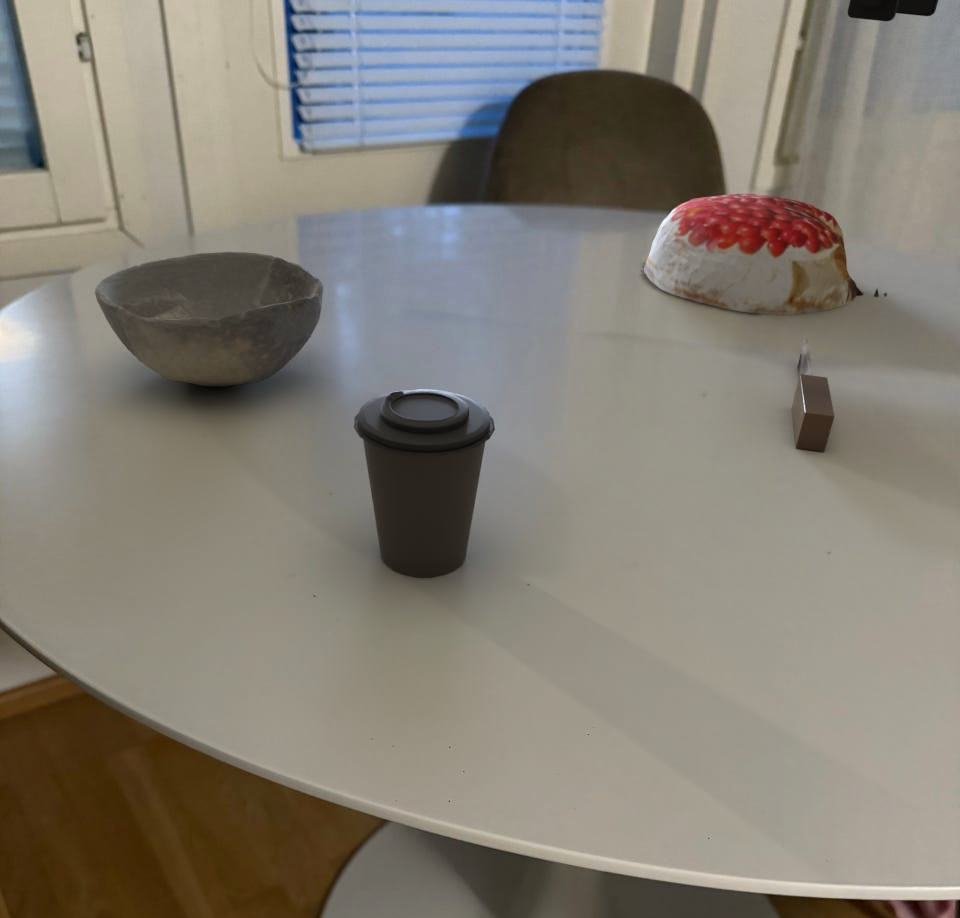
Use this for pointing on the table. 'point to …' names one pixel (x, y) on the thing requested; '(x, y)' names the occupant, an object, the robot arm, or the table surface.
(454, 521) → the coffee cup
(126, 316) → the bowl
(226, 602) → the table surface
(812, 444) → the knife
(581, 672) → the table surface
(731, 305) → the cake
